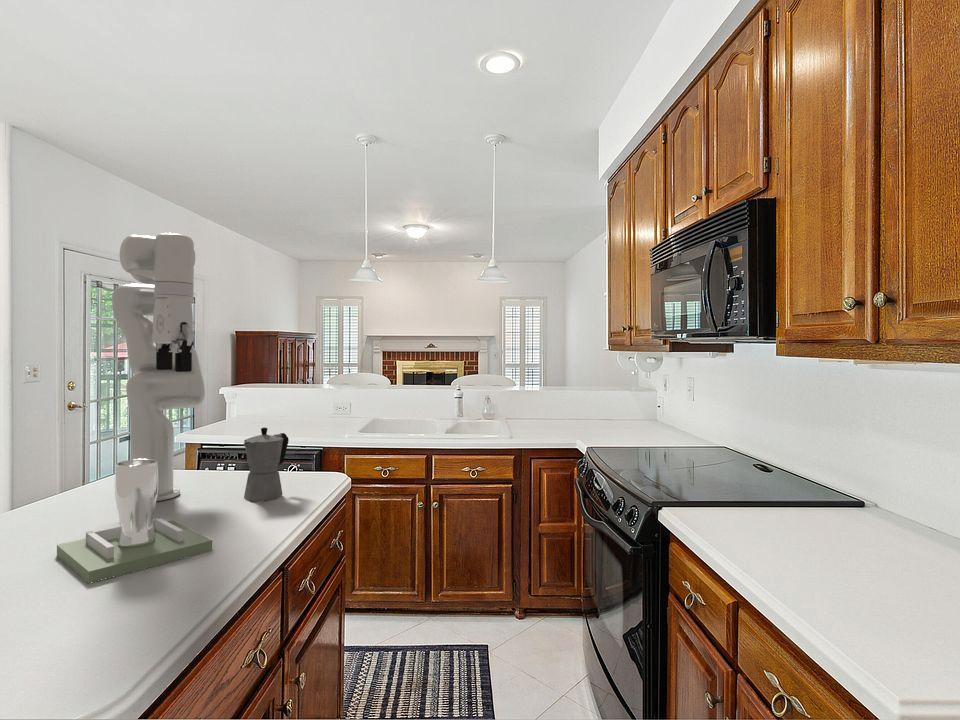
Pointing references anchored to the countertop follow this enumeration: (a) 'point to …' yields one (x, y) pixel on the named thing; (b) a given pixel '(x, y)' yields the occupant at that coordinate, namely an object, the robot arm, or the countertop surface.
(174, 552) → the plate
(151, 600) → the countertop surface
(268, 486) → the coffeepot
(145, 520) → the beer glass
